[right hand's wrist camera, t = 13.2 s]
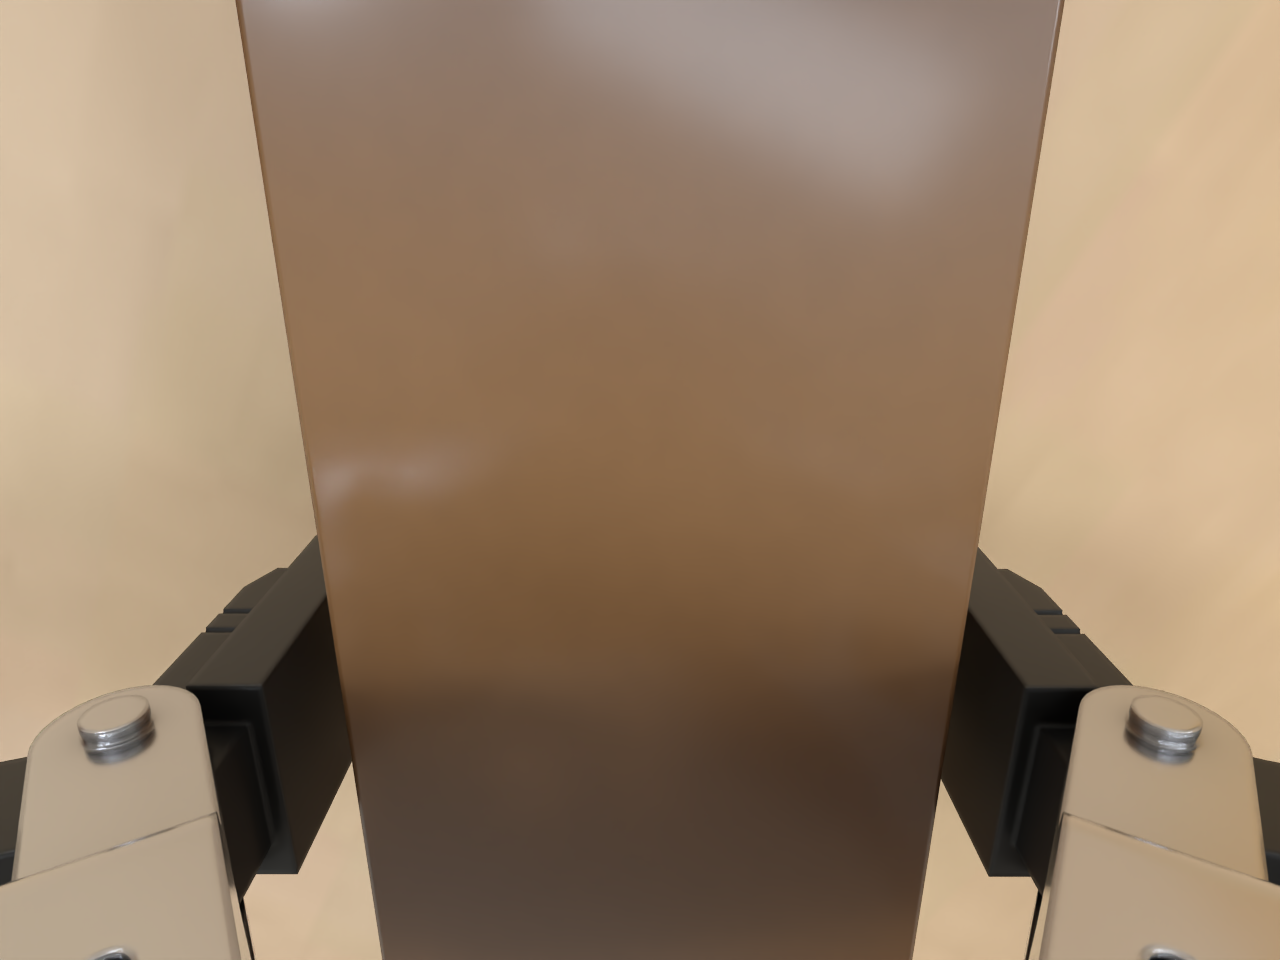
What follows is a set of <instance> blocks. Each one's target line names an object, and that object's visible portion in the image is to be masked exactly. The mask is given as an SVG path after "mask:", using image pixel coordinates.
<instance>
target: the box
mask: <svg viewBox="0 0 1280 960" xmlns="http://www.w3.org/2000/svg"><path fill="white" fill-rule="evenodd" d="M1064 1H1065V0H236V7H237V13H238V20H239V26H240V33H241V39H242V46H243V52H244V59H245V65H246V72H247V79H248V85H249V92H250V98H251V105H252V111H253V118H254V124H255V131H256V137H257V144H258V150H259V157H260V163H261V170H262V176H263V183H264V189H265V196H266V203H267V209H268V216H269V222H270V229H271V235H272V242H273V248H274V255H275V261H276V268H277V274H278V281H279V287H280V294H281V300H282V307H283V313H284V320H285V327H286V333H287V340H288V346H289V353H290V359H291V366H292V372H293V379H294V385H295V392H296V398H297V405H298V411H299V418H300V424H301V431H302V437H303V444H304V451H305V457H306V464H307V470H308V477H309V483H310V490H311V496H312V503H313V509H314V516H315V522H316V529H317V535H318V542H319V548H320V555H321V561H322V568H323V575H324V581H325V588H326V594H327V601H328V607H329V614H330V620H331V627H332V633H333V640H334V646H335V653H336V659H337V666H338V672H339V679H340V685H341V692H342V698H343V705H344V712H345V718H346V725H347V731H348V738H349V744H350V751H351V757H352V764H353V770H354V777H355V783H356V790H357V796H358V803H359V809H360V816H361V822H362V829H363V836H364V842H365V849H366V855H367V862H368V868H369V875H370V881H371V888H372V894H373V901H374V907H375V914H376V920H377V927H378V933H379V940H380V946H381V953H382V960H912V957H913V951H914V944H915V938H916V932H917V925H918V919H919V913H920V907H921V900H922V894H923V888H924V881H925V875H926V869H927V863H928V856H929V850H930V844H931V837H932V831H933V825H934V818H935V812H936V806H937V800H938V793H939V787H940V781H941V774H942V768H943V762H944V756H945V749H946V743H947V737H948V730H949V724H950V718H951V712H952V705H953V699H954V693H955V686H956V680H957V674H958V667H959V661H960V655H961V649H962V642H963V636H964V630H965V623H966V617H967V611H968V605H969V598H970V592H971V586H972V579H973V573H974V567H975V561H976V554H977V548H978V542H979V535H980V529H981V523H982V516H983V510H984V504H985V498H986V491H987V485H988V479H989V472H990V466H991V460H992V454H993V447H994V441H995V435H996V428H997V422H998V416H999V410H1000V403H1001V397H1002V391H1003V384H1004V378H1005V372H1006V365H1007V359H1008V353H1009V347H1010V340H1011V334H1012V328H1013V321H1014V315H1015V309H1016V303H1017V296H1018V290H1019V284H1020V277H1021V271H1022V265H1023V259H1024V252H1025V246H1026V240H1027V233H1028V227H1029V221H1030V214H1031V208H1032V202H1033V196H1034V189H1035V183H1036V177H1037V170H1038V164H1039V158H1040V152H1041V145H1042V139H1043V133H1044V126H1045V120H1046V114H1047V108H1048V101H1049V95H1050V89H1051V82H1052V76H1053V70H1054V63H1055V57H1056V51H1057V45H1058V38H1059V32H1060V26H1061V19H1062V13H1063V7H1064Z"/></svg>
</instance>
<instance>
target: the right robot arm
mask: <svg viewBox="0 0 1280 960" xmlns="http://www.w3.org/2000/svg"><path fill="white" fill-rule="evenodd" d="M351 762H352V757H351V751H350V744H349V738H348V731H347V725H346V718H345V712H344V705H343V698H342V692H341V685H340V679H339V672H338V666H337V659H336V653H335V646H334V640H333V633H332V627H331V620H330V614H329V607H328V601H327V594H326V588H325V581H324V575H323V568H322V561H321V555H320V548H319V542H318V535H316V536H315V537H314V539H313V540H312V541H311V542H310V543H309V544H308V545H307V547H306V548H305V549H304V550H303V551H302V552H301V553H300V555H299V556H298V557H297V558H296V559H295V560H294V562H293V563H292V564H291V565H290V566H289V567H288V568H277V569H275V570H273V571H272V572H270V573H268V574H266V575H265V576H263V577H261V578H259V579H257V580H256V581H254V582H252V583H250V584H249V585H247V586H245V587H244V588H243V589H242V590H241V591H240V592H239V593H238V594H237V595H236V596H235V597H234V598H233V599H232V601H231V602H230V603H229V604H228V605H227V606H226V607H225V608H224V612H223V614H218V616H217V617H216V618H215V619H214V620H213V621H212V622H211V623H210V624H209V625H208V626H207V627H206V633H201V634H200V635H199V636H198V637H197V638H196V639H195V640H194V641H193V642H192V643H191V644H190V646H189V647H188V648H187V649H186V650H185V651H184V652H183V653H182V654H181V655H180V656H179V657H178V658H177V659H176V661H175V662H174V663H173V664H172V665H171V666H170V667H169V668H168V669H167V670H166V671H165V672H164V673H163V674H162V676H161V677H160V678H159V679H158V680H157V681H156V682H155V683H154V684H153V685H150V686H140V687H133V688H128V689H123V690H119V691H115V692H112V693H109V694H105V695H102V696H100V697H97V698H94V699H92V700H89V701H87V702H85V703H83V704H80V705H78V706H76V707H74V708H73V709H71V710H69V711H67V712H66V713H64V714H62V715H61V716H59V717H58V718H56V719H55V720H54V721H52V722H51V723H50V724H49V725H47V726H46V727H45V728H44V729H43V730H42V731H41V732H40V733H39V734H38V735H37V737H36V738H35V739H34V741H33V742H32V744H31V746H30V749H29V752H28V757H24V758H19V759H14V760H9V761H4V762H0V960H256V955H255V950H254V945H253V940H252V934H251V929H250V924H249V919H248V914H247V910H246V905H245V901H244V895H245V893H246V892H247V890H248V888H249V886H250V884H251V882H252V880H253V879H254V877H255V875H256V874H298V872H299V870H300V868H301V866H302V864H303V862H304V860H305V858H306V855H307V853H308V851H309V849H310V847H311V845H312V843H313V841H314V839H315V837H316V835H317V833H318V831H319V828H320V826H321V824H322V822H323V820H324V818H325V816H326V814H327V812H328V810H329V808H330V806H331V804H332V801H333V799H334V797H335V795H336V793H337V791H338V789H339V787H340V785H341V783H342V781H343V779H344V777H345V774H346V772H347V770H348V768H349V766H350V764H351ZM941 780H942V782H943V784H944V786H945V788H946V790H947V792H948V794H949V796H950V798H951V800H952V802H953V804H954V806H955V808H956V810H957V812H958V814H959V816H960V818H961V821H962V823H963V825H964V827H965V829H966V831H967V833H968V835H969V837H970V839H971V841H972V843H973V845H974V847H975V849H976V851H977V853H978V855H979V857H980V859H981V861H982V863H983V866H984V868H985V870H986V872H987V874H988V876H989V877H1031V878H1032V879H1033V881H1034V883H1035V885H1036V887H1037V888H1038V892H1037V896H1036V901H1035V905H1034V910H1033V914H1032V919H1031V924H1030V929H1029V934H1028V940H1027V945H1026V950H1025V955H1024V960H1280V763H1277V762H1272V761H1267V760H1262V759H1258V758H1254V757H1252V752H1251V749H1250V746H1249V744H1248V742H1247V741H1246V739H1245V738H1244V737H1243V735H1242V734H1241V733H1240V732H1239V731H1238V730H1237V729H1236V728H1235V727H1234V726H1233V725H1231V724H1230V723H1229V722H1228V721H1226V720H1225V719H1224V718H1222V717H1221V716H1219V715H1218V714H1216V713H1214V712H1213V711H1211V710H1209V709H1207V708H1206V707H1204V706H1202V705H1200V704H1197V703H1195V702H1193V701H1191V700H1188V699H1186V698H1183V697H1180V696H1178V695H1175V694H1171V693H1168V692H1165V691H1161V690H1157V689H1152V688H1147V687H1140V686H1133V685H1132V684H1131V683H1130V682H1129V681H1128V680H1127V679H1126V677H1125V676H1124V675H1123V674H1122V673H1121V672H1120V671H1119V670H1118V669H1117V668H1116V667H1115V666H1114V665H1113V664H1112V663H1111V662H1110V661H1109V659H1108V658H1107V657H1106V656H1105V655H1104V654H1103V653H1102V652H1101V651H1100V650H1099V649H1098V648H1097V647H1096V646H1095V645H1094V644H1093V642H1092V641H1091V640H1090V639H1089V638H1088V637H1087V636H1086V635H1085V634H1080V629H1079V628H1078V627H1077V626H1076V624H1075V623H1074V622H1073V621H1072V620H1071V619H1070V618H1069V617H1068V616H1067V615H1063V614H1062V610H1061V609H1060V608H1059V606H1058V605H1057V604H1056V603H1055V602H1054V601H1053V600H1052V599H1051V598H1050V597H1049V596H1048V595H1047V594H1046V593H1045V592H1044V591H1043V590H1042V588H1040V587H1038V586H1036V585H1035V584H1033V583H1031V582H1029V581H1028V580H1026V579H1024V578H1022V577H1020V576H1019V575H1017V574H1015V573H1013V572H1012V571H1010V570H1008V569H997V568H996V567H995V566H994V565H993V563H992V562H991V561H990V560H989V559H988V558H987V557H986V555H985V554H984V553H983V552H982V551H981V550H980V549H979V547H978V548H977V554H976V561H975V567H974V573H973V579H972V586H971V592H970V598H969V605H968V611H967V617H966V623H965V630H964V636H963V642H962V649H961V655H960V661H959V667H958V674H957V680H956V686H955V693H954V699H953V705H952V712H951V718H950V724H949V730H948V737H947V743H946V749H945V756H944V762H943V768H942V774H941Z"/></svg>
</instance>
